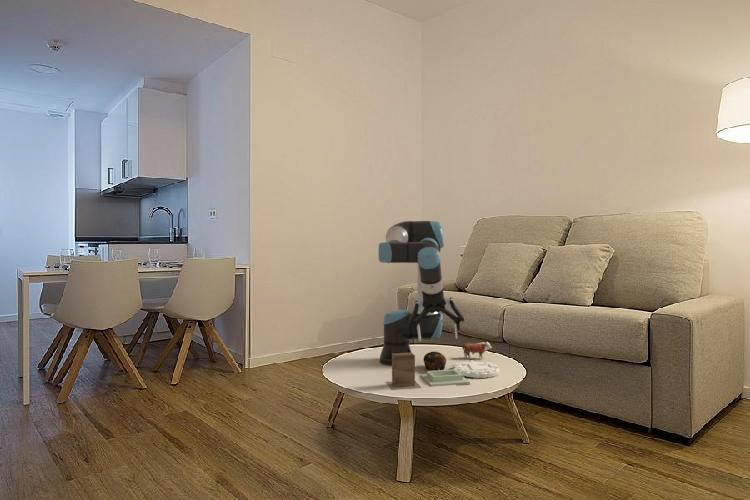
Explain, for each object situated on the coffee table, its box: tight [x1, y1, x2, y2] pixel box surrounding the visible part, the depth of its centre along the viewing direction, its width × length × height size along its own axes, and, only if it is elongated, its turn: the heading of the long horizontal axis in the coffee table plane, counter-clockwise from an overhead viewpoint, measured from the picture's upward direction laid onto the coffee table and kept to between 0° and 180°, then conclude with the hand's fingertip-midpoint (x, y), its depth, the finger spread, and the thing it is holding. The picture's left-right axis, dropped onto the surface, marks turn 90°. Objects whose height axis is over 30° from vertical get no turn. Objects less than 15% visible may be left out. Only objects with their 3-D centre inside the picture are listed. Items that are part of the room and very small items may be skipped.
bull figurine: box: [462, 341, 492, 360], centre depth 243 cm, size 4×13×8 cm, turn 81°
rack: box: [420, 369, 471, 387], centre depth 209 cm, size 14×16×3 cm
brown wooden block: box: [391, 352, 416, 387], centre depth 202 cm, size 4×8×12 cm, turn 102°
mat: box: [385, 380, 422, 391], centre depth 203 cm, size 10×12×1 cm
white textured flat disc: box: [451, 359, 501, 379], centre depth 221 cm, size 20×20×3 cm
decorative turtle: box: [423, 350, 447, 371], centre depth 225 cm, size 10×15×8 cm, turn 23°
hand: (438, 337), depth 194 cm, fingers open, 13 cm apart
